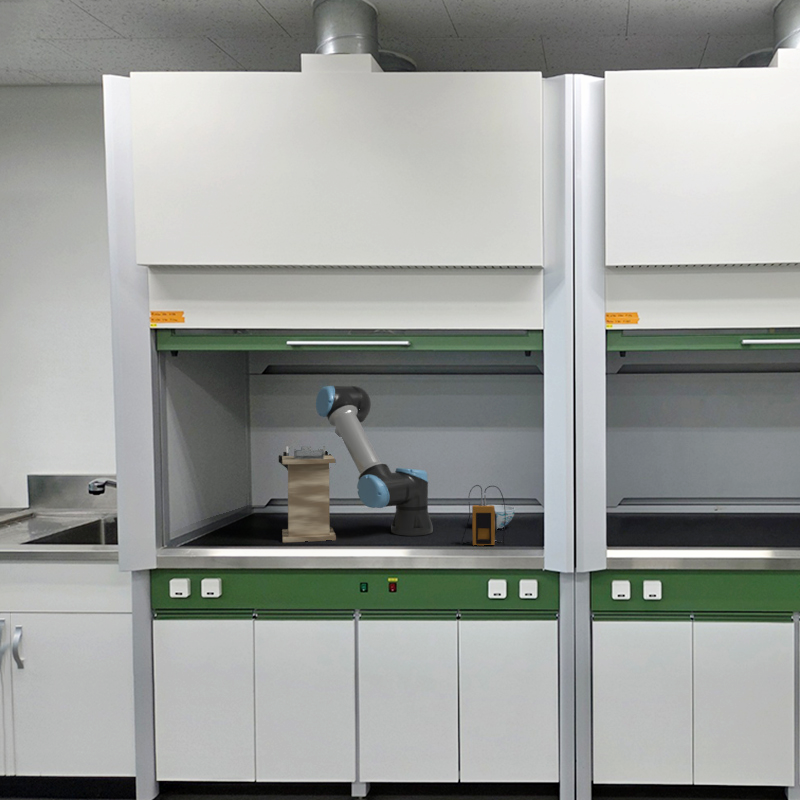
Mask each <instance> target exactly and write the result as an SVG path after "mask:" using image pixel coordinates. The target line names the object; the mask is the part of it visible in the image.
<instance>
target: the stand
mask: <svg viewBox="0 0 800 800" xmlns="http://www.w3.org/2000/svg"><path fill="white" fill-rule="evenodd" d="M281 456H282V464H288V471H287V528H282V530H281V531H282V533H281V534H282V543H304V542H305V541H308V542H325V541H326V540H332V541H337V535H336V533H335V531H334V528H333V526H332V527H331V526H330V525H331V524H330V521H331V520H330V468H329V463H336V464H337V461H336V459H335V458H334V457H333V456H332V455H324V459H294V456H283V455H281ZM282 464H281V465H282ZM305 543H306V542H305Z"/></svg>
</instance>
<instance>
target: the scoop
mask: <svg viewBox="0 0 800 800" xmlns="http://www.w3.org/2000/svg"><path fill="white" fill-rule="evenodd" d="M300 447H301V450H296V449H294V459H324V450H323V449H320V450H319V449H317V450H316V449H314V450H313V448H312V447H311V446H300Z"/></svg>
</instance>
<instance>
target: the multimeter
mask: <svg viewBox="0 0 800 800" xmlns="http://www.w3.org/2000/svg"><path fill="white" fill-rule="evenodd" d="M475 487H479V488H480V489H481V490H480V493H481V496H480V498H481V499H480V505H477V504H474V505H472V506H470V505H471V504H470V503H468V509H469V513H472V514H469V516H468V519H467V522H466V526H465V529H464V533H463V536H462V539H461V543H460V546H462V545H463V544H462V543H463V540H464V538H465V535H466V531H467V528H468V525H469V521H470V519H471V518H470V517H472V519H471V520H472V521H471V522H472V523H471V524H472V527H471V529H472V545H473V546H474V545H477V546H484V545H494V546H495V545H496V544H495V543H496V542H495V541H496V536H497V531H498V530H497V520H496V514H495V507H494V506H493V505H494V504H487V500H486V499H487V498H486V496H484V498H483V489H482V486H481V485H478V484H476V485H474V486H472V487H471V489H470V491H469V493H468V497H470V494H471V492H472V490H473V489H474V488H475ZM491 487H492V488H496V489H498V490H499V492H500V495H501V496H502V502H503V505H504V509H505V505H506V503H505V500H504V496H503V493H502V491H501V490H500V488H499V487H498V486H496V485H489V486H487V487H486V488H485V489H484V492H486V491H487V490H488V488H491ZM483 499H484V501H483ZM471 507H472V509H471ZM471 510H472V512H471ZM471 515H472V516H471ZM505 517H506V513H505ZM505 527H506V526H505V522H504V529H503V533H506V528H505ZM502 539H503V540H502V542H503V543H502V544H503V545H505V544H504V543H505V535H503V537H502Z"/></svg>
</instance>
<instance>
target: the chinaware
mask: <svg viewBox="0 0 800 800" xmlns="http://www.w3.org/2000/svg"><path fill="white" fill-rule="evenodd" d="M492 505H493V506H494V507H495V514H496V520H497V529H498V528H503V527H504V522H505V527H506V526H507V525H509V523H510V522H511V521H512V520H513V519H514V516H515V512H516V507H514V506H511V505H506V504H505V509H504V504H503V505H502V504H492ZM505 513H506V517H505Z"/></svg>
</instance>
